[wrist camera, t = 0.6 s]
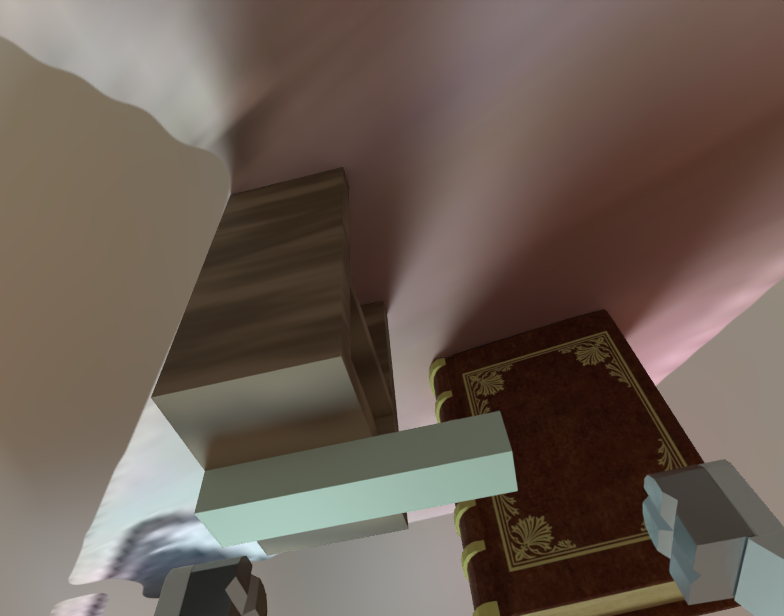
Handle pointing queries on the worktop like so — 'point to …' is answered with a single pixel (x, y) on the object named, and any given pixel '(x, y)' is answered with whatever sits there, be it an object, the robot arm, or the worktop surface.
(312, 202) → the walnut shelf
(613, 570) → the decorative book
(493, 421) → the pale green bar
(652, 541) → the robot arm
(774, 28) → the worktop surface
